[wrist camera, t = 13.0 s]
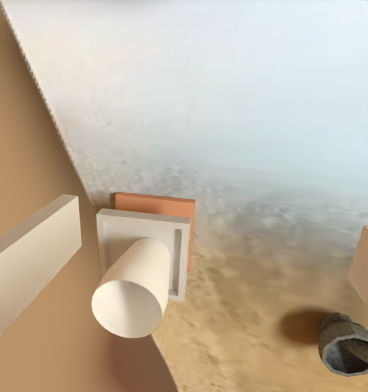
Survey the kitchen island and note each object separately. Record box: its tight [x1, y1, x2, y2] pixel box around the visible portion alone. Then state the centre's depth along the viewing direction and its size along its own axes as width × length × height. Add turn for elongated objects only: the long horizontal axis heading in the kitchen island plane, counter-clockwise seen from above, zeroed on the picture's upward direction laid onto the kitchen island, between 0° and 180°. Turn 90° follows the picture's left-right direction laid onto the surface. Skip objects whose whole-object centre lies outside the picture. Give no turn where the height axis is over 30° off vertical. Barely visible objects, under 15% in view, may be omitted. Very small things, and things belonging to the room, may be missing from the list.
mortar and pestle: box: [318, 313, 368, 377], centre depth 50 cm, size 11×9×12 cm
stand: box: [96, 192, 195, 302], centre depth 49 cm, size 14×14×10 cm
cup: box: [92, 238, 170, 338], centre depth 40 cm, size 9×9×12 cm
